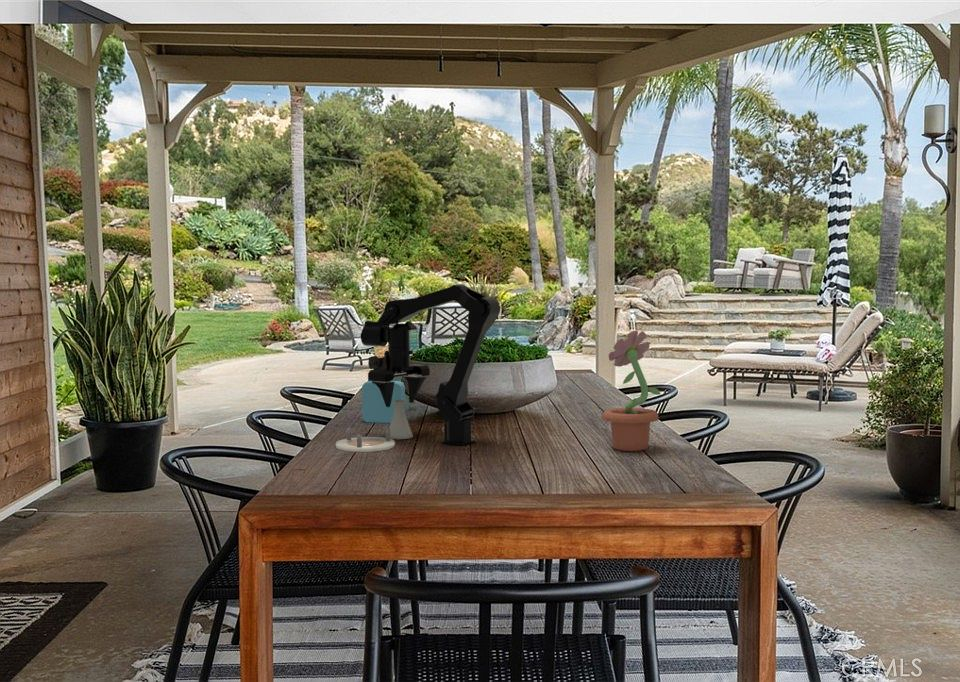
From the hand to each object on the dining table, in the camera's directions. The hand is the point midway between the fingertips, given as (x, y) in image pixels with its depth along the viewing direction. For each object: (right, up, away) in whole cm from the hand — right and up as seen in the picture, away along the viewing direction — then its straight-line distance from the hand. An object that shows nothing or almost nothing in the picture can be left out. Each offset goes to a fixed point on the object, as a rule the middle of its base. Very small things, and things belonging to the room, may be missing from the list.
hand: (399, 404), depth 244 cm
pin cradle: (-8, -10, -11) cm, 17 cm away
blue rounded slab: (-7, -7, +26) cm, 28 cm away
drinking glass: (-6, -5, +48) cm, 48 cm away
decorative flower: (+60, -10, -15) cm, 62 cm away
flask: (0, -9, +1) cm, 9 cm away
